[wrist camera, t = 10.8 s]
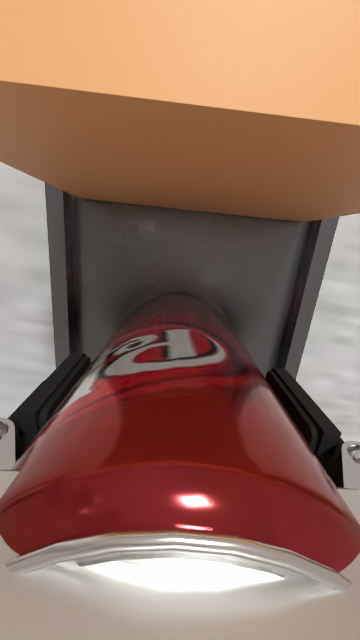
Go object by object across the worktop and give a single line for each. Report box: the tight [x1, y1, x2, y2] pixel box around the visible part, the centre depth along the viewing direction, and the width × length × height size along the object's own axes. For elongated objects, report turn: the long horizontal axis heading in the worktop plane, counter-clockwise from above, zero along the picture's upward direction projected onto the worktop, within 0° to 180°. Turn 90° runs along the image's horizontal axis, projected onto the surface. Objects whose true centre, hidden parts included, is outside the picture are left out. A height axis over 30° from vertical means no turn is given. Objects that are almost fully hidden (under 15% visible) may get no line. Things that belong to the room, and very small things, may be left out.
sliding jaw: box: [0, 0, 360, 222], centre depth 7 cm, size 2×11×10 cm, turn 84°
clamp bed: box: [45, 182, 339, 380], centre depth 10 cm, size 16×14×12 cm
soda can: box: [0, 295, 360, 591], centre depth 9 cm, size 7×7×12 cm
